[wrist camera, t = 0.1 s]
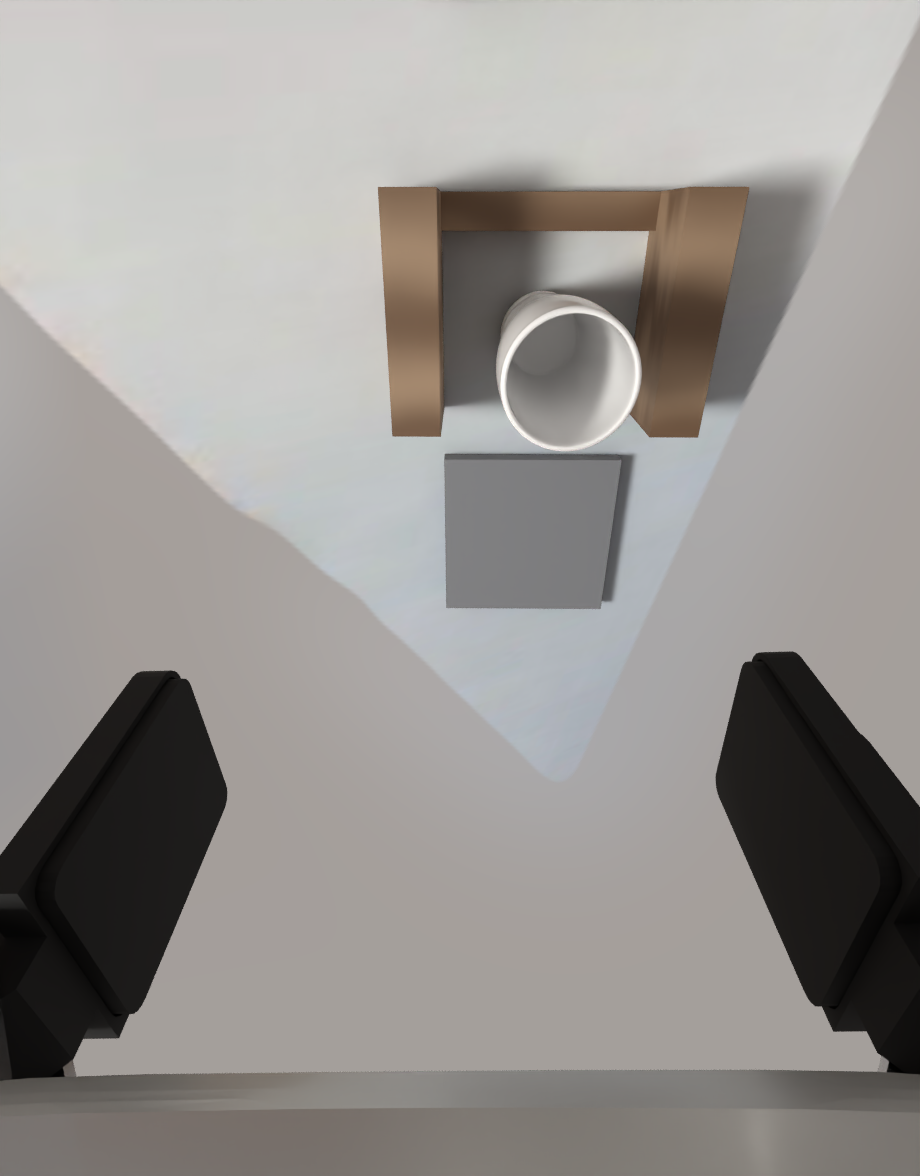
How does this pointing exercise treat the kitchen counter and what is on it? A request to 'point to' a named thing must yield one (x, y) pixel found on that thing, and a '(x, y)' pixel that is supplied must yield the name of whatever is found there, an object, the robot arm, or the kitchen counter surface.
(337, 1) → the kitchen counter surface
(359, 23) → the kitchen counter surface
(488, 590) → the slate board
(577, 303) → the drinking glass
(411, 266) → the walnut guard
